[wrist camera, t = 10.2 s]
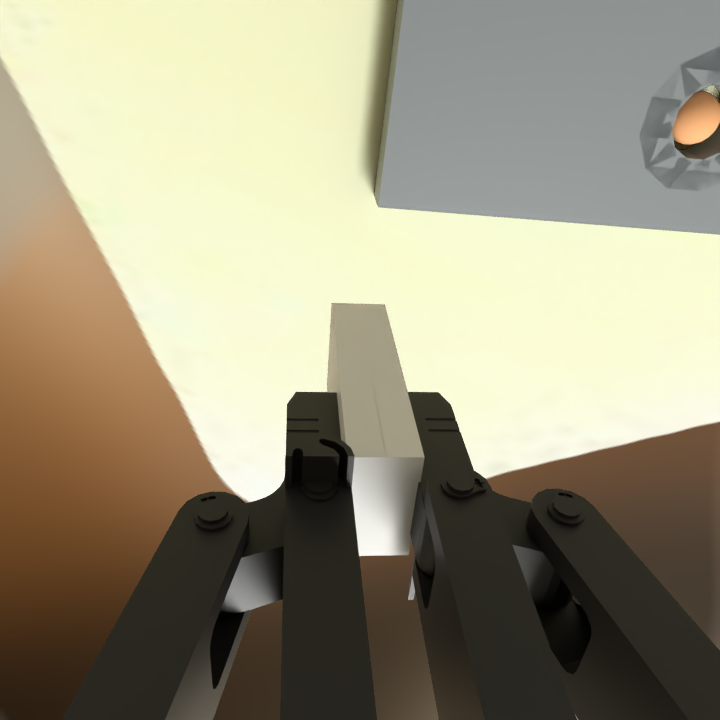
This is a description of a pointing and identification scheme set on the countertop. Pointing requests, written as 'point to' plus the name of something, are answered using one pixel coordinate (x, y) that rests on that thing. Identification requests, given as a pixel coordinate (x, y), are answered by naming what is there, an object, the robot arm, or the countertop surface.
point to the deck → (551, 111)
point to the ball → (697, 118)
